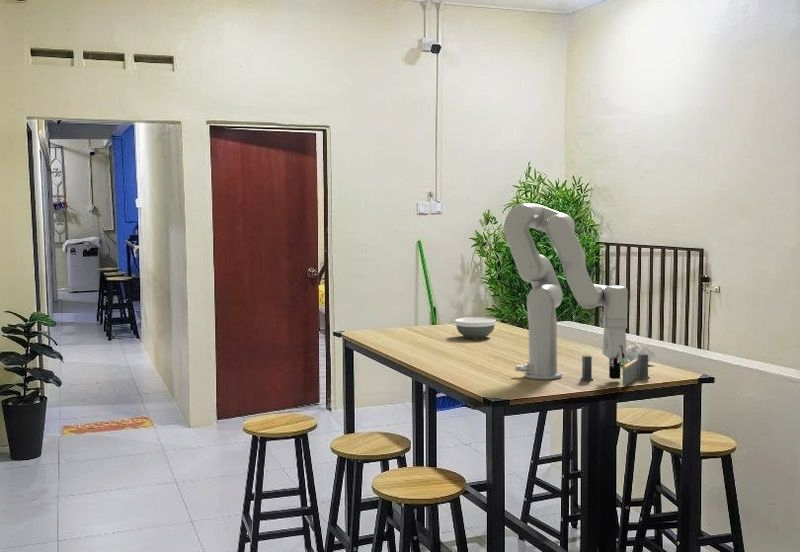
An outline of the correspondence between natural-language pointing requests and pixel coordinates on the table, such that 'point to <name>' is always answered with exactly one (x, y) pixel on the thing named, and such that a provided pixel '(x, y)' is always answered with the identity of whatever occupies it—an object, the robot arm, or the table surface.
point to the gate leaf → (630, 371)
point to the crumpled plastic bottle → (637, 352)
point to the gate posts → (588, 367)
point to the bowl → (475, 326)
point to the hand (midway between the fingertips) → (614, 378)
